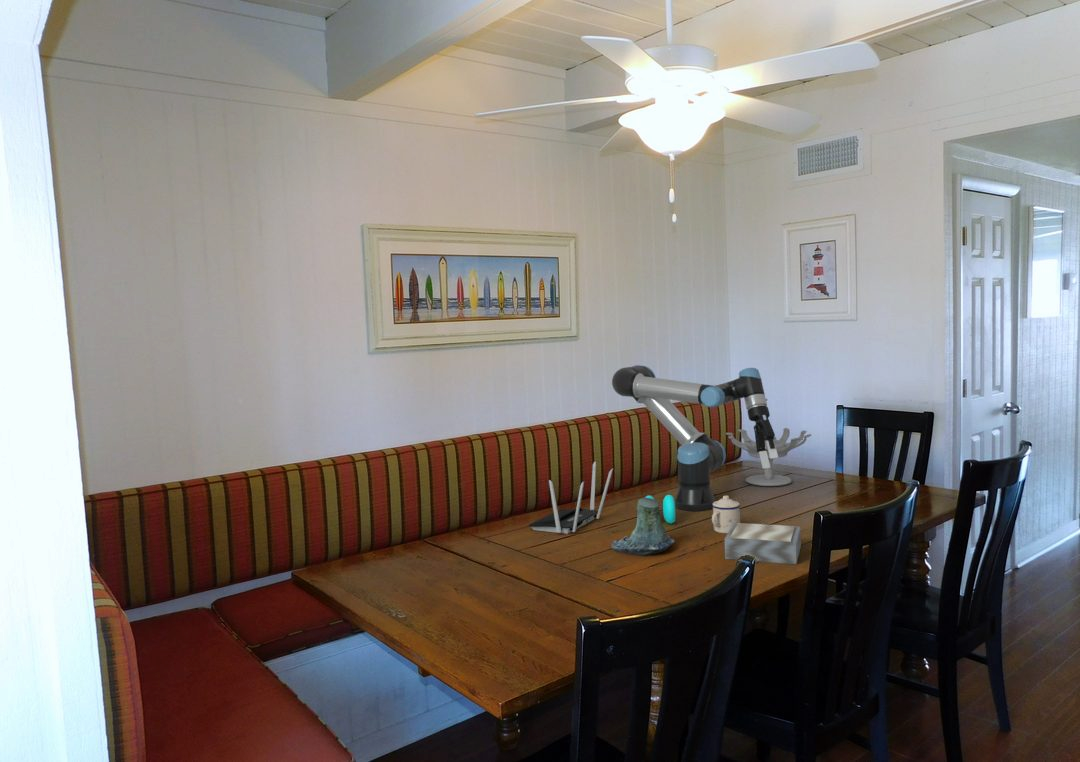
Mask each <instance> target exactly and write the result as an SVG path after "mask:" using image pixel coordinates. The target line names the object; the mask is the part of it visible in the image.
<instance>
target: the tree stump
mask: <svg viewBox="0 0 1080 762" xmlns="http://www.w3.org/2000/svg"><path fill="white" fill-rule="evenodd" d="M636 510H637V515H636V516H637V518H636V525H635V528H634V529H633V530H632V532H631V534H630V536H629V535H624V537H622V538H620V539H619V538H618V539H617V540H614V541H612V542H610V543H611V545H610V547H611V550H613V551H615V552H616V553H617V552H618V553H623V554H628V555H636V556H648V555H653V554H658V553H663V552H665V551H667V550H668V548H669V547H671V546H672V545H673V544H674V543H675V539H674V538H672V536H670V535H668V536H667V532H666V530H665V527H664V526H663V523H662V516H661V511H660V507H659V502H658V501H657V500H656V499H655V498H654V499H651V498H645V497H642V498H640V499H638V501H637V507H636Z"/></svg>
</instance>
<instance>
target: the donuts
mask: <svg viewBox="0 0 1080 762" xmlns="http://www.w3.org/2000/svg"><path fill="white" fill-rule="evenodd" d="M644 498H651V499H654V500H655V498H654V497H653V496H652V495H646V496H644ZM662 510H663V512H662V513H663V518H664V521H666V523H667V524H674V522H676V507H675V498H674V496H673V495H672V494H667V495H665V496H664V498H663V500H662Z"/></svg>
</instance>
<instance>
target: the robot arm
mask: <svg viewBox="0 0 1080 762" xmlns="http://www.w3.org/2000/svg"><path fill="white" fill-rule="evenodd" d="M611 385H612V388H613V390H614V391H615V392H616V394H618V395H619V396H622V397H629V398H630V397H631V398H633V399H634V400H635V401H636V402H637V403H638V404H643V405H644V406H645V407H646V408H647V409H648V410H649V411H650V413H652V415H654V417H655V418H656V419H657V420H658V421H659V422H660V423H661V424H662V425H663V426H664V428H665V429H667V431H668V432H669V433H670V434H671V435H672V436H673V438H674V439H675V440H676V441H677V442H678V443H679V444H680V446H679V447H678V448H677V455H676V458H677V476H678V487H677V491H676V495H675V498H674V502H675V509H678V510H682V511H690V512H694V511H695V512H698V511H699V512H700V511H708V510H713V506H712V505H713V503H714V502H715V501H716V498H715V497H714V493H713V490H712V488H711V481H710V480H711V478H710V477H711V476H710V475H711V473H712V472H716V471H718V470H719V469H720V468H721V467H722V466H723V465H724V463H725V462H726V459H727V458H726V457H727V455H726V450H725V447H724V446H723V445H722V443H721V442H719V441H717V440H714V439H712V438H710V436H708V434H706V432H700V431H698V429H697V428H696V427H695V426H693V423H691V422H690V420H688V419H687V417H686V416H685V415H683V413H682V412H681V411H680V410H679V409H678V408H677V407H676V406H675V404H674V403H672V402H671V400H672V401H677V402H678V401H679V402H685V403H693V404H698V405H704V406H706V407H707V408H718V407H720V406H723V405H727V404H728V403H731V402H735V401H737V400H741V399H744V404H745V407H746V410H747V416H748V420H749V422H755V424H754V425H753V430H754V431H753V432H754V437H755V442H756V448H757V452H759V456H760V458H759V459H760V463H761V468H762V470H764V469H767V468H770V464H769V460H768V455H767V449H765V440H768V441H766V444H767V448H768V452H769V456H770V459H773V460H774V459H779V458H778V454H777V450H776V446H775V442H774V440H773V439H774V436H775V435H776V434H775V431H774V429H773V426H772V424H771V422H770V419H769V418H770V415H771V414H770V411H769V410H770V409H769V407H768V404H767V401H768V398H766V394H765V389H764V386H763V381H762V377H761V373H760V371H759V369H757V368H755V367H748V368H747V367H746V368H743V369H742V370H740V371H739V373H738V378H736V379H734V380H730V381H728V382H724V383H720V384H715V385H711V384H704V383H703V384H702V383H697V382H689V381H681V380H672V379H667V378H666V379H665V378H659V377H656V375H655V373H654V371H653V370H652V369H651V368H650V367H649V366H646V365H640V364H636V365H633V366H628V367H622V368H620V369H618V370H617V371H616V372H615V373H613V376H612V378H611ZM775 437H776V436H775Z"/></svg>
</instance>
